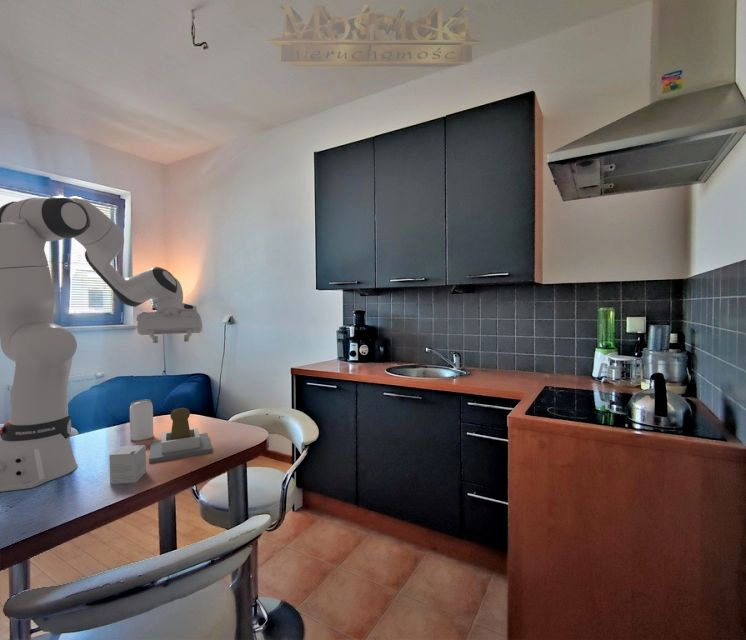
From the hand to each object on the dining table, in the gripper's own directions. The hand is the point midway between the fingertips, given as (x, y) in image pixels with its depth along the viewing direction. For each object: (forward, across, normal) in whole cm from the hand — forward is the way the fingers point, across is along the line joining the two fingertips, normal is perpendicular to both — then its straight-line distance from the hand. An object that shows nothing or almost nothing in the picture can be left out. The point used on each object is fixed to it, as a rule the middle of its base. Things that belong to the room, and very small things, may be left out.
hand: (171, 341), depth 130 cm
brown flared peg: (+35, +2, +8) cm, 36 cm away
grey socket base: (+36, +2, +8) cm, 37 cm away
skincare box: (+47, -10, -3) cm, 48 cm away
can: (+24, -9, +21) cm, 33 cm away
